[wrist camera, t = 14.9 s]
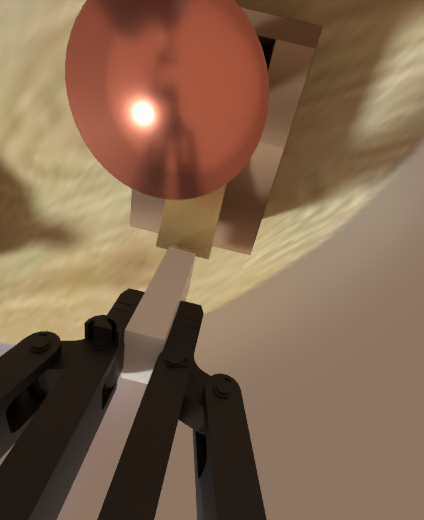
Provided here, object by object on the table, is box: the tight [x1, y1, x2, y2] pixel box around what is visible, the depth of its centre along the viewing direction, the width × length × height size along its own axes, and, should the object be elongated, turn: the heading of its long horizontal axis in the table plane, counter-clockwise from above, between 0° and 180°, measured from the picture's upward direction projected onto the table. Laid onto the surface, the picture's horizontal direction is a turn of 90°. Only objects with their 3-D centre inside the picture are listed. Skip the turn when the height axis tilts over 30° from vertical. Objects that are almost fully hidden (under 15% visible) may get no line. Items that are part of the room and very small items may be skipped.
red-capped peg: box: [65, 0, 269, 200], centre depth 13 cm, size 4×4×15 cm
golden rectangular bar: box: [156, 184, 227, 259], centre depth 17 cm, size 5×3×1 cm, turn 169°
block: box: [130, 8, 322, 255], centre depth 19 cm, size 12×8×5 cm, turn 169°
